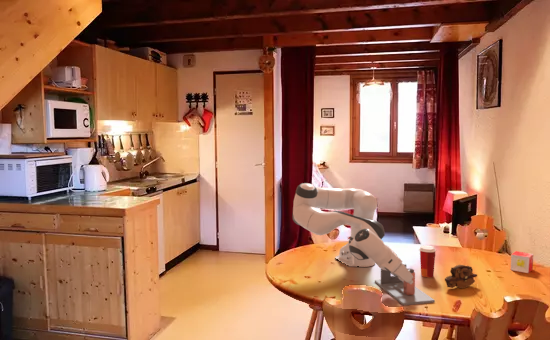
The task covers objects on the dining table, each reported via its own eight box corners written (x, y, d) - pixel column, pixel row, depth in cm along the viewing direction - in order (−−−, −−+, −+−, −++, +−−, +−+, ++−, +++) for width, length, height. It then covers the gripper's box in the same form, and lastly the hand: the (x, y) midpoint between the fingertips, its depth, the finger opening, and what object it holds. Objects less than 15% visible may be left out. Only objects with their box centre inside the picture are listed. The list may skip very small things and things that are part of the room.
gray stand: (374, 282, 208) (374, 263, 207) (402, 279, 210) (402, 261, 209) (403, 305, 180) (403, 283, 179) (434, 302, 183) (435, 281, 182)
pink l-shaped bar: (387, 280, 206) (387, 258, 205) (394, 279, 207) (395, 258, 206) (407, 295, 187) (407, 271, 186) (415, 294, 188) (415, 270, 187)
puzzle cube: (510, 269, 222) (511, 254, 221) (515, 266, 228) (515, 251, 227) (528, 273, 217) (529, 257, 216) (532, 269, 222) (533, 253, 222)
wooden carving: (451, 292, 194) (451, 270, 193) (443, 288, 198) (444, 267, 197) (479, 286, 200) (479, 264, 199) (471, 283, 204) (471, 261, 203)
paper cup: (435, 273, 218) (436, 245, 216) (435, 279, 210) (436, 250, 209) (418, 272, 220) (419, 244, 219) (418, 277, 213) (418, 248, 212)
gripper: (371, 257, 198) (392, 277, 200) (391, 271, 178) (414, 293, 180) (381, 247, 198) (401, 267, 200) (402, 260, 178) (424, 282, 180)
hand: (407, 280), depth 190 cm, fingers closed on pink l-shaped bar, 6 cm apart
